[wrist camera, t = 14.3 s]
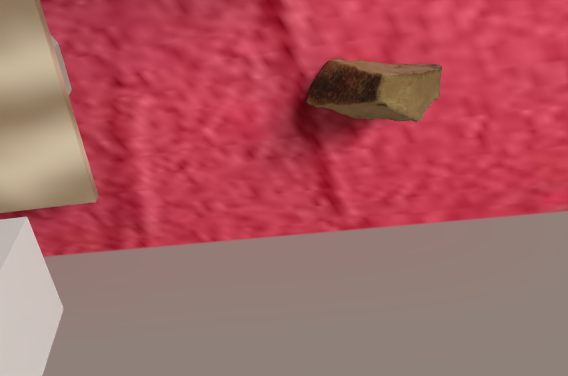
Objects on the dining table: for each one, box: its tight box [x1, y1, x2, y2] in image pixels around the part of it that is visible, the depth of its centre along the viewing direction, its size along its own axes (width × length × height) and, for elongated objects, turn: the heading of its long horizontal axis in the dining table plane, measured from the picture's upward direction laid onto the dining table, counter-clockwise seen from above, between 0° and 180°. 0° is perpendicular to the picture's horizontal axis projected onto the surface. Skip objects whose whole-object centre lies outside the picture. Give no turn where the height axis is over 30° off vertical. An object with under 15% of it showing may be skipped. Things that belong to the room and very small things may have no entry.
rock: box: [306, 59, 442, 122], centre depth 44 cm, size 11×9×10 cm
